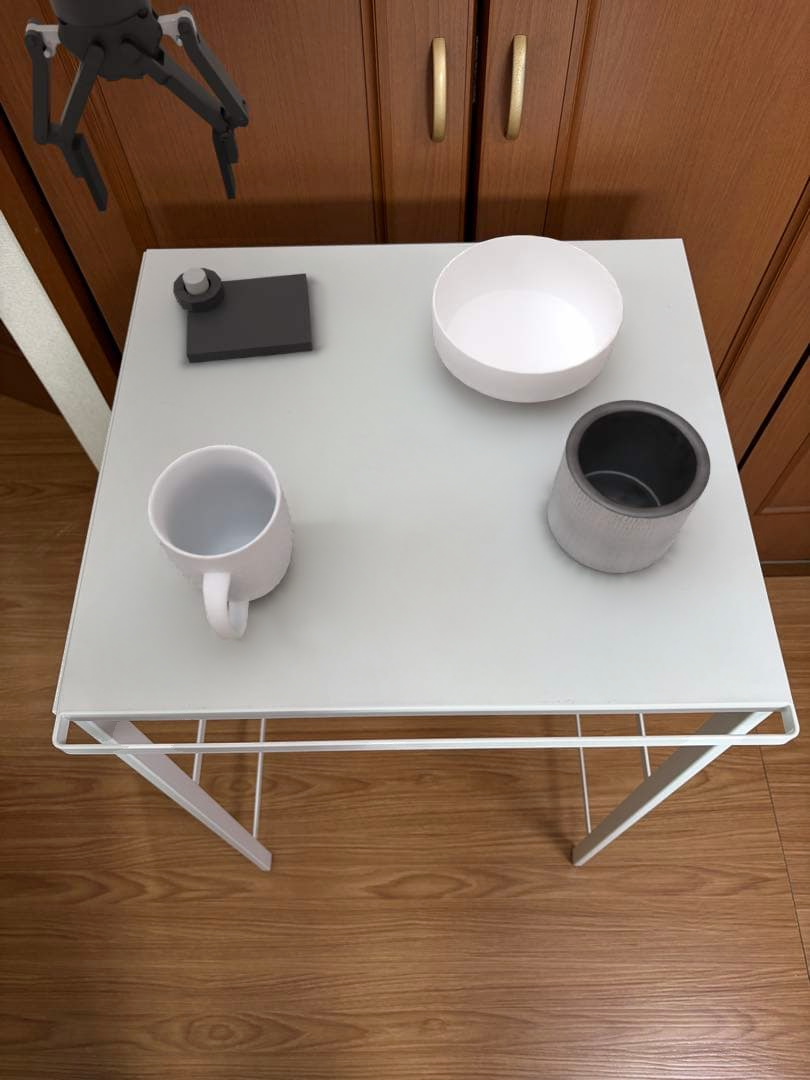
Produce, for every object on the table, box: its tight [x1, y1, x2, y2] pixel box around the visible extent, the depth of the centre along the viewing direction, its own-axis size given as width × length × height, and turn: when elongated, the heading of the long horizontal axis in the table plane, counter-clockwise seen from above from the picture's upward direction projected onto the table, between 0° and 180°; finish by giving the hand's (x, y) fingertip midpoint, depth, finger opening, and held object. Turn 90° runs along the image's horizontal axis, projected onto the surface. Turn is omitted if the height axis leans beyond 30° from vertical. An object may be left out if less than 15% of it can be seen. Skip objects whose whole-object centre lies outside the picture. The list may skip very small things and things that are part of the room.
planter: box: [546, 399, 711, 574], centre depth 69 cm, size 12×13×11 cm
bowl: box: [431, 235, 625, 403], centre depth 80 cm, size 20×20×8 cm
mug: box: [147, 444, 294, 641], centre depth 65 cm, size 15×11×13 cm
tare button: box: [183, 267, 209, 295], centre depth 86 cm, size 3×3×2 cm
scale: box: [172, 267, 314, 364], centre depth 86 cm, size 15×12×3 cm
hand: (168, 196), depth 76 cm, fingers open, 12 cm apart
